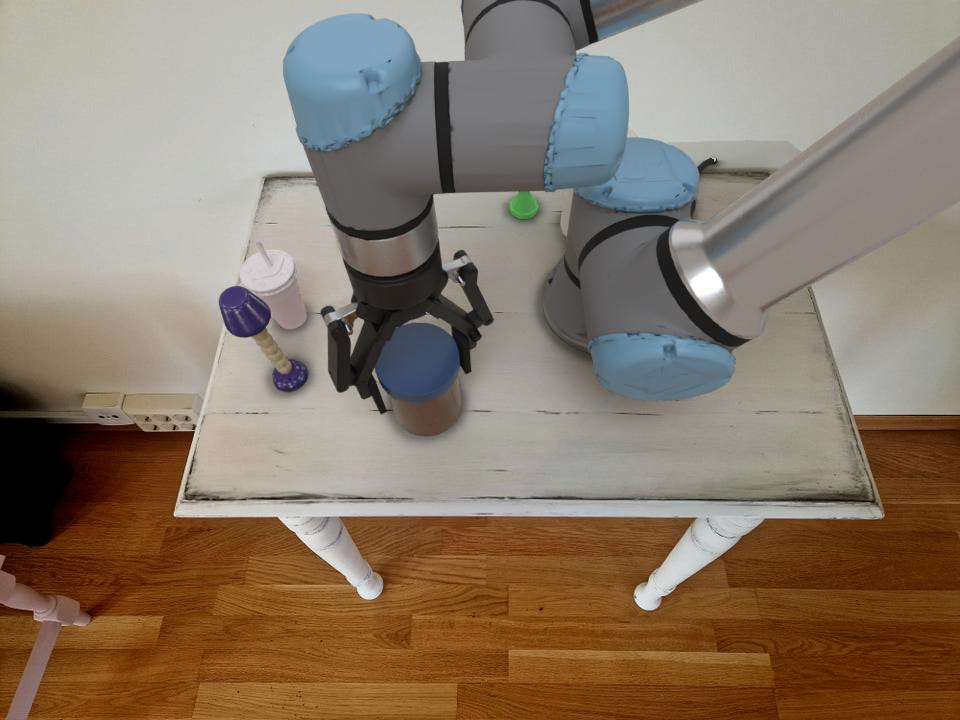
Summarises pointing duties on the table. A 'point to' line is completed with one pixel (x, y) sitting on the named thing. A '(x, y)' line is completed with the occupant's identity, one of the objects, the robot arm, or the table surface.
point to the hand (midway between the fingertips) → (421, 383)
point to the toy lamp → (260, 334)
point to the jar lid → (418, 363)
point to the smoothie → (275, 285)
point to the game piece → (523, 205)
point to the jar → (429, 413)
